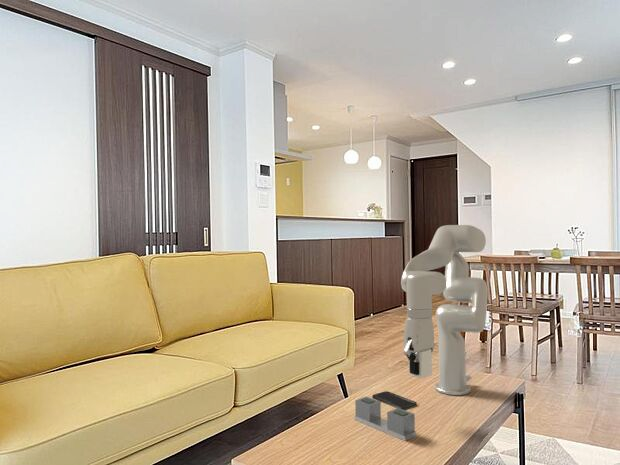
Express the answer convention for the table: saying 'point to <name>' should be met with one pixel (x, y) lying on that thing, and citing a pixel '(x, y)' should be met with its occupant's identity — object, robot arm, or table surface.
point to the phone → (394, 400)
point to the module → (424, 364)
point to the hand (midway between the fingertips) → (420, 371)
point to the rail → (395, 425)
